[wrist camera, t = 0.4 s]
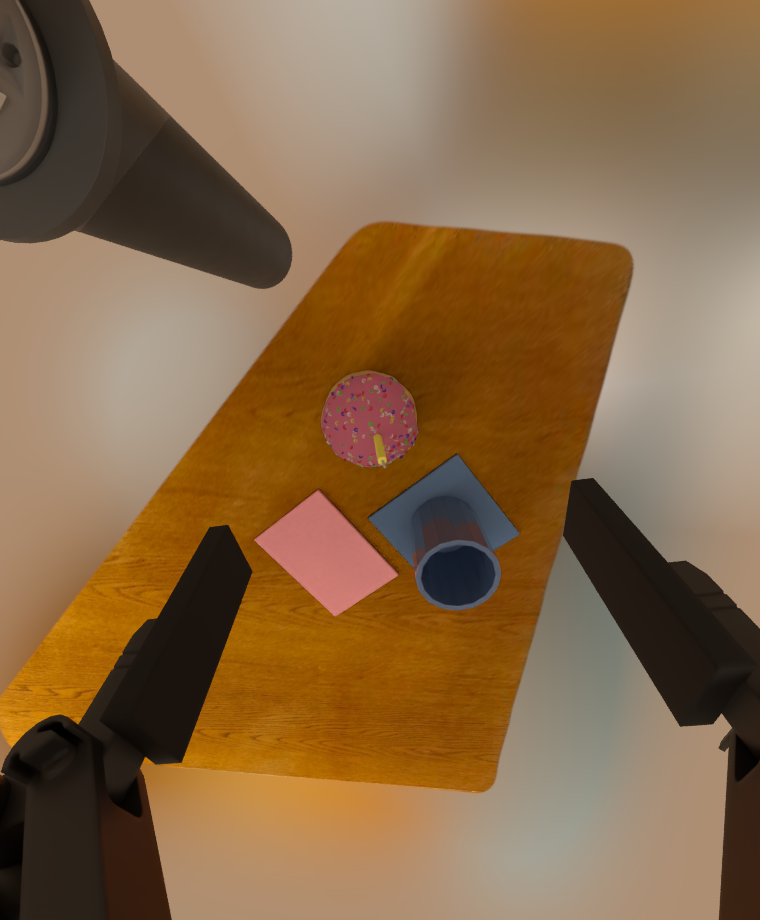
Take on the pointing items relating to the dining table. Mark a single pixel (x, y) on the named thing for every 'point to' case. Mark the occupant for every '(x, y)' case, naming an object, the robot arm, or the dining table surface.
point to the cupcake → (369, 419)
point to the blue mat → (441, 482)
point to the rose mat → (326, 554)
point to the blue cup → (452, 555)
